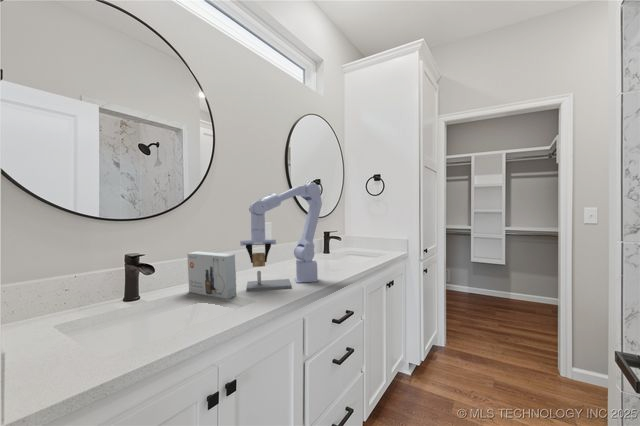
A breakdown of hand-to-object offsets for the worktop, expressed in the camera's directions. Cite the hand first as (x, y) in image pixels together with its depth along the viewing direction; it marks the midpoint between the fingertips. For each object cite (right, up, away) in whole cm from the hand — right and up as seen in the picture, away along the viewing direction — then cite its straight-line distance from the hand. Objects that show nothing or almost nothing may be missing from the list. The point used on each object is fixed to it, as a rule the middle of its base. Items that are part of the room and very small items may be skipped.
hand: (258, 262), depth 122 cm
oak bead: (0, -1, 0) cm, 1 cm away
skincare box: (-16, -11, -9) cm, 22 cm away
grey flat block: (+4, -10, +1) cm, 11 cm away
